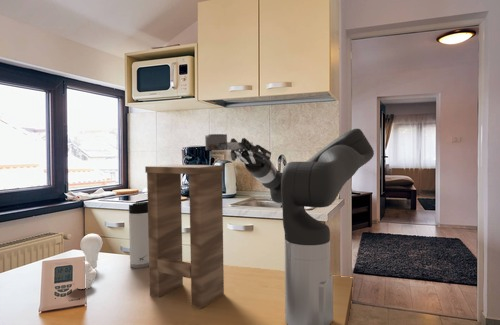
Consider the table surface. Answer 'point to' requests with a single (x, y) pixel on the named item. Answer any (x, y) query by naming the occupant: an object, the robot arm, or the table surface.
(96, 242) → the lightbulb
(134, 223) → the travel mug
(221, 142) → the steel link
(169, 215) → the shelf
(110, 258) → the table surface
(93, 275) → the white ridged dome
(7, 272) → the table surface
